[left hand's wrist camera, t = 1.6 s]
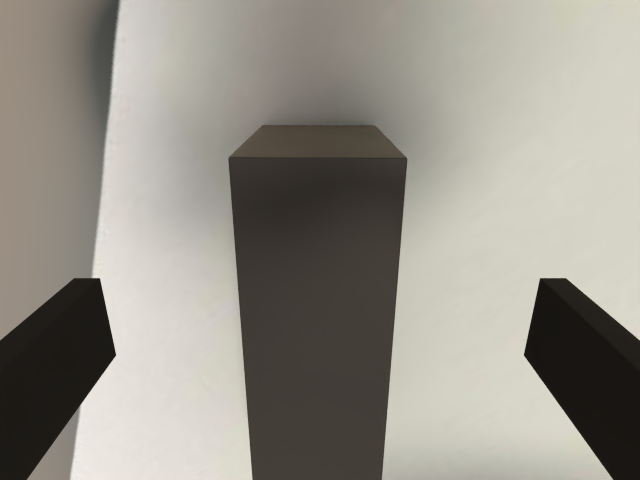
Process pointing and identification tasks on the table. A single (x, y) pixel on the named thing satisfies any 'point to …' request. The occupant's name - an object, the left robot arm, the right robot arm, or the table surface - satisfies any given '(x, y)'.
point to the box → (317, 295)
